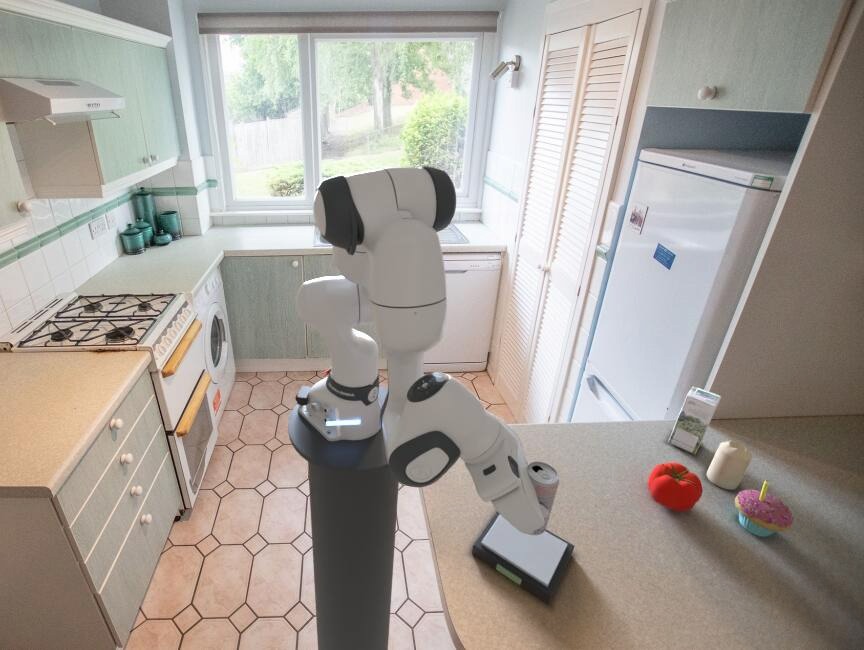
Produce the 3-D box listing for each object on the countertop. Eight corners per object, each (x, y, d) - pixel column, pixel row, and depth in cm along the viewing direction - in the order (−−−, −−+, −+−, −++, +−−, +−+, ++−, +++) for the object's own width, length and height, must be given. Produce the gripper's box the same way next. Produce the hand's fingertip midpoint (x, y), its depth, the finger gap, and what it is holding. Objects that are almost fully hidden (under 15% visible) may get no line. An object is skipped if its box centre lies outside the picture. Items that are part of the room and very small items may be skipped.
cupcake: (742, 541, 86) (768, 495, 80) (718, 504, 93) (740, 460, 88) (793, 548, 84) (823, 503, 79) (765, 511, 92) (790, 467, 86)
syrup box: (701, 443, 109) (722, 394, 103) (694, 456, 105) (716, 406, 99) (673, 432, 113) (693, 384, 106) (666, 443, 109) (686, 394, 103)
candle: (739, 493, 96) (757, 458, 91) (707, 483, 98) (724, 448, 94) (735, 476, 100) (752, 441, 95) (704, 467, 102) (720, 432, 98)
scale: (470, 555, 83) (472, 544, 82) (499, 512, 91) (502, 501, 90) (547, 606, 75) (551, 595, 73) (571, 554, 83) (575, 543, 82)
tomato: (664, 478, 99) (675, 452, 96) (704, 510, 92) (717, 483, 88) (632, 489, 97) (641, 463, 93) (670, 523, 89) (682, 496, 86)
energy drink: (530, 506, 83) (543, 456, 77) (552, 530, 78) (567, 479, 73) (507, 516, 81) (518, 465, 75) (528, 540, 76) (542, 489, 71)
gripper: (466, 416, 84) (512, 461, 87) (480, 506, 66) (537, 559, 69) (495, 398, 81) (541, 445, 85) (517, 487, 63) (574, 543, 66)
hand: (539, 497), depth 76 cm, fingers closed on energy drink, 5 cm apart
